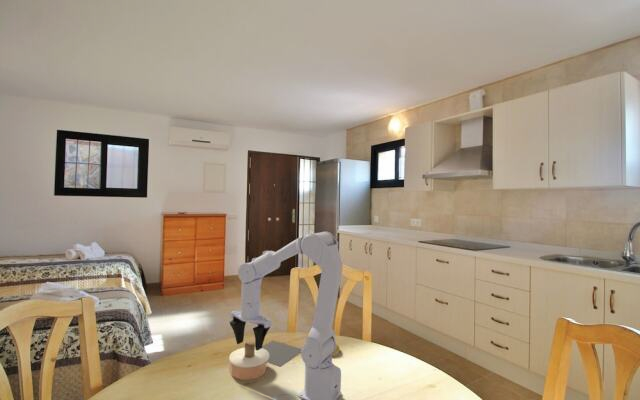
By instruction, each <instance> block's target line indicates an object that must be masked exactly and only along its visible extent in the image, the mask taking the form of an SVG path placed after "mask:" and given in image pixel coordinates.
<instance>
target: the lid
mask: <svg viewBox="0 0 640 400" xmlns="http://www.w3.org/2000/svg"><path fill="white" fill-rule="evenodd" d="M268 359H269V352H268V351H267V350H265V349H263V348H261V349H260V350H258V351H257V350H256V348H255V341H254V342H253V341H247V342H246V343H244V347H241V348H237V349H236V350H234V351H232V352H231V353H229V360H228V361H229V363H230V362H231V363H232V364H233V365H235V366H238V367H255V366H259V365H262V364H264V363H265V362H267V361H268ZM267 363H268V362H267Z"/></svg>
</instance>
